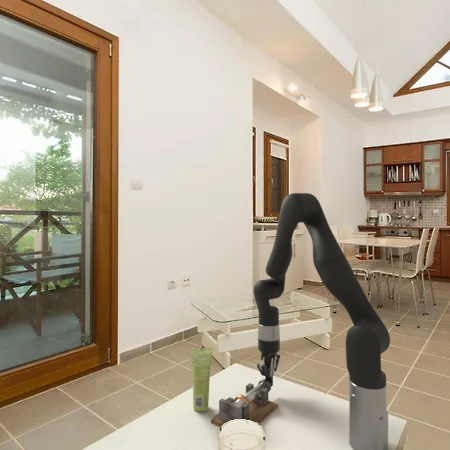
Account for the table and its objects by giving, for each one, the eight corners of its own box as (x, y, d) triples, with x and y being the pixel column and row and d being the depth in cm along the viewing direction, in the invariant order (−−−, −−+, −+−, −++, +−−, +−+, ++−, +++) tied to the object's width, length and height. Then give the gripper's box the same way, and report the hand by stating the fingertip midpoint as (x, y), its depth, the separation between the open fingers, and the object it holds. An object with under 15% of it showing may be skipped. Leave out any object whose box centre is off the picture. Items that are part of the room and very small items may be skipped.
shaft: (271, 394, 119) (271, 380, 119) (240, 420, 104) (240, 403, 104) (259, 390, 122) (259, 376, 122) (227, 414, 107) (227, 399, 107)
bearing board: (277, 407, 115) (277, 385, 115) (244, 437, 99) (244, 411, 99) (246, 396, 122) (246, 376, 122) (211, 423, 106) (211, 399, 106)
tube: (200, 402, 118) (200, 344, 118) (212, 406, 116) (212, 346, 116) (189, 409, 114) (189, 349, 114) (202, 414, 111) (202, 352, 111)
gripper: (269, 344, 115) (269, 396, 115) (287, 333, 126) (287, 381, 126) (249, 339, 119) (250, 390, 120) (268, 329, 130) (268, 376, 130)
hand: (269, 386), depth 123 cm, fingers closed
